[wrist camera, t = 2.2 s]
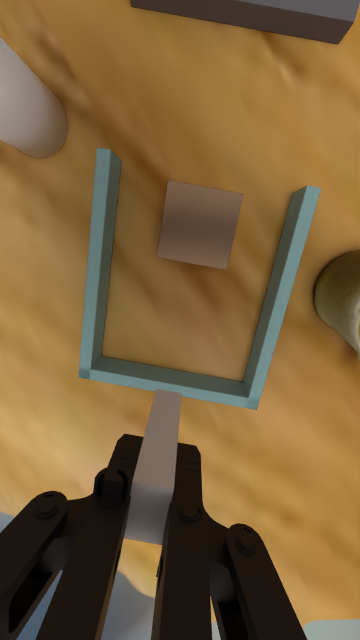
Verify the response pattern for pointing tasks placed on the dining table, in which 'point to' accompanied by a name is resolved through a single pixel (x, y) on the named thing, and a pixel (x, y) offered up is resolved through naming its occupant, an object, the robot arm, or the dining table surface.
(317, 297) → the mug
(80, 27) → the dining table surface
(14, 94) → the white rounded capsule
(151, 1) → the bar
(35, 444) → the dining table surface
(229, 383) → the teal u-shaped frame
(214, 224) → the walnut block
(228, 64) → the dining table surface
